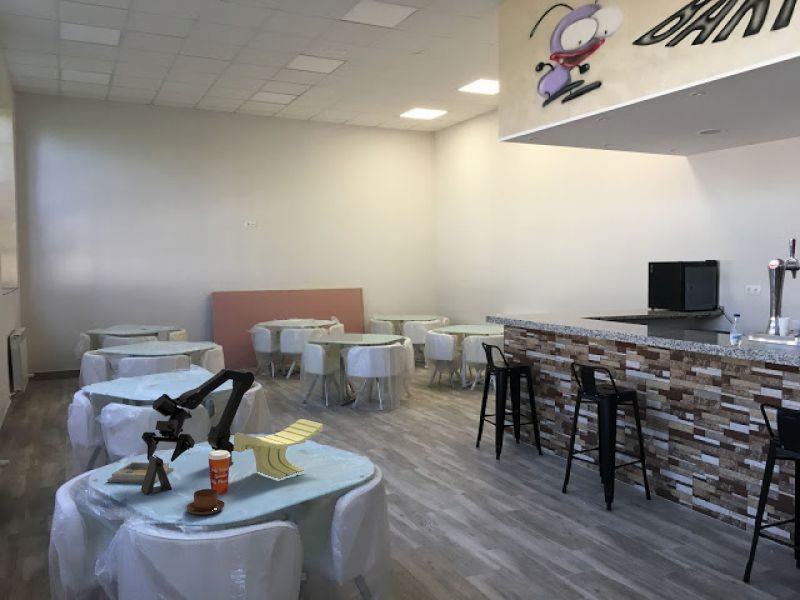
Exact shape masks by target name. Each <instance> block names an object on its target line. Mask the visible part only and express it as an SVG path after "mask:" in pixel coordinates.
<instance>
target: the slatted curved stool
mask: <svg viewBox="0 0 800 600" xmlns="http://www.w3.org/2000/svg"><path fill="white" fill-rule="evenodd" d="M323 431H324V424H323V423H321V422H316V421H312V420H309V419H304V418H302V419H301V418H299V419H298V420H296V421H295V422H294V423H292V424H290V425H289V427H286V428H284V429H283V430H281V431H279V432H277V433H273V434H270V435H266V436H252V435H248V434H246V433H242V432H238V431H237V432H235V434H234V436H233V445H234V451H233V452H237V453H240V454H241V453H242V452H244V451H246V450H247V451H248V450H252V452H253V455H254V459H255V469H256V473H257V472H260V473H263V474H265V475H268V476H271V477H274V478H278V479H281V478H283V477H286V476H290V475H293V474H295V473H297V472H298V473H299V472H302V471H305V469H303V468H301V467H298V466H296V465H295V464H292V463H291V462H289V460H288V459H287V457H286V453H287V450H288V447H293V446H296V445H301V444H304V443H307V440H312V439H313V438H312V436H318V432H319V433H321V432H323Z"/></svg>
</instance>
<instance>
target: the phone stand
mask: <svg viewBox="0 0 800 600" xmlns="http://www.w3.org/2000/svg"><path fill="white" fill-rule="evenodd" d="M148 463H149V466H148V469H147V472H146V475H145V478H144V481H143V483H141V488H140V491H141V492H143V494H145V495H146V496H149V495H151V496H152V495H155V494H160V493H163V492H167V491H172V490H173V487H172V484H171V483H170V480H169V478H168V475H166V472H165V470H164V467H163V463H164V460H163V459H162V458H160V456H157V455H155V454H153V455H151V456H150V457H149V460H148ZM156 473H157V474H158V477H159V481H158V482H159V484H160V485H157V486H155V484H154V482H155V478H156Z"/></svg>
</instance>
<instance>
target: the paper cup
mask: <svg viewBox="0 0 800 600" xmlns="http://www.w3.org/2000/svg"><path fill="white" fill-rule="evenodd" d="M230 456H231V455H230V453H229V452H228V451H225V450H217V451H215V450H212V451H210V452H209V453H208V455H207V459H208V467H209V468H208V469H209V480H210V489H214V490H216V491H217V496H218V495H224V493H225V494H226V493H228V491H229V478H230V477H229V472H230V467H229V457H230Z"/></svg>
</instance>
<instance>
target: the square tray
mask: <svg viewBox="0 0 800 600" xmlns="http://www.w3.org/2000/svg"><path fill="white" fill-rule="evenodd" d="M148 466H149V462H143V461H142V462H139V461H137V462H136V461H131V462H130V463H128V464H126V465H124V466H123V467H121V468H119V469H118V470H116V471H115V472H113V473H111V477H109V478H107V480H106V481H109V482H108V483H113V482H120V483H119V484H122V483H124V484H143V481H144V478H145V475H146V472H147V469H148ZM163 467H164V470H165V472H166V475H167V476H168V475H169V474H171V473H172V472H174V467H170V463H169V462H168V463H167V462H163ZM158 482H160V481H159V477H158V474H157V473H156V478H155V482H154V485H155V484H156V483H158Z"/></svg>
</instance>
